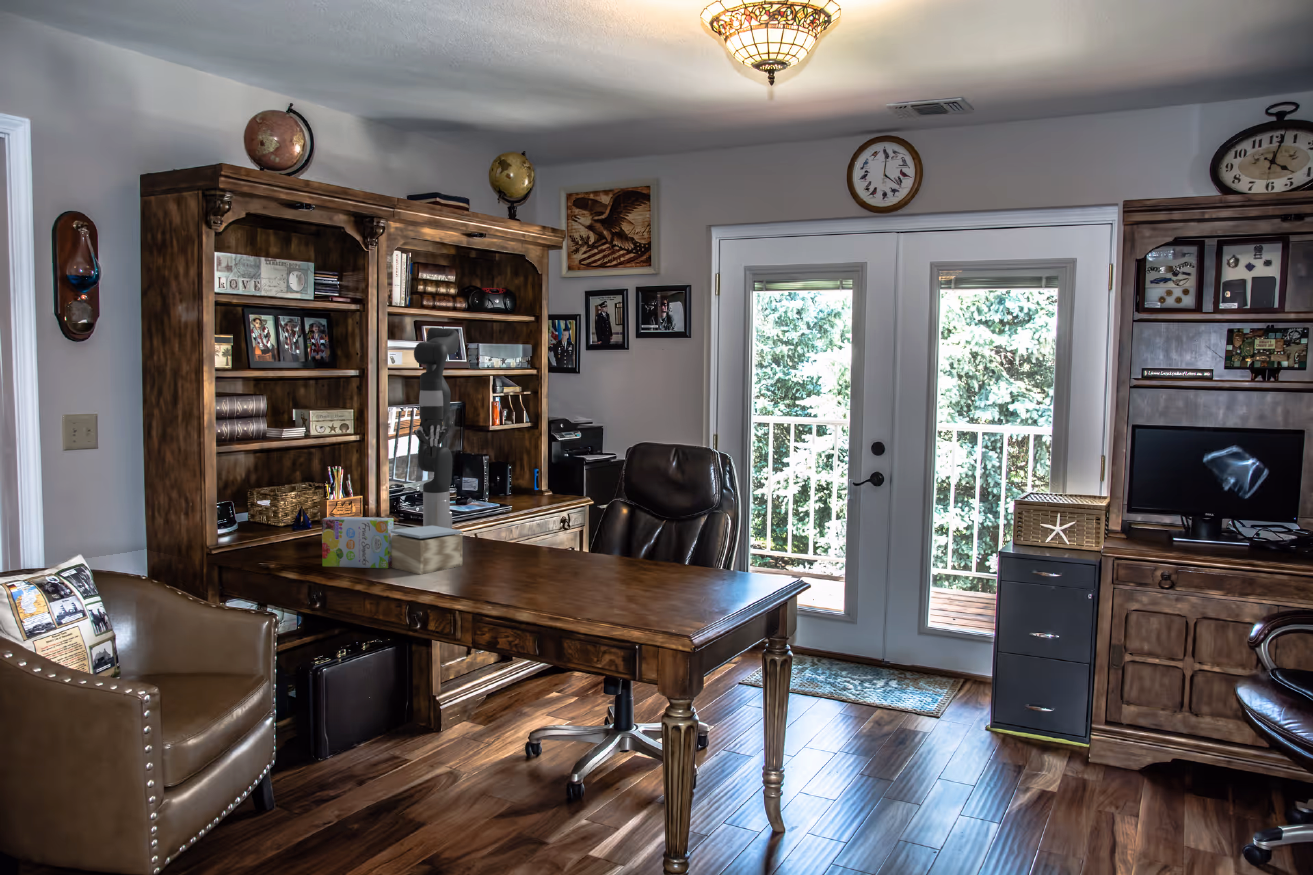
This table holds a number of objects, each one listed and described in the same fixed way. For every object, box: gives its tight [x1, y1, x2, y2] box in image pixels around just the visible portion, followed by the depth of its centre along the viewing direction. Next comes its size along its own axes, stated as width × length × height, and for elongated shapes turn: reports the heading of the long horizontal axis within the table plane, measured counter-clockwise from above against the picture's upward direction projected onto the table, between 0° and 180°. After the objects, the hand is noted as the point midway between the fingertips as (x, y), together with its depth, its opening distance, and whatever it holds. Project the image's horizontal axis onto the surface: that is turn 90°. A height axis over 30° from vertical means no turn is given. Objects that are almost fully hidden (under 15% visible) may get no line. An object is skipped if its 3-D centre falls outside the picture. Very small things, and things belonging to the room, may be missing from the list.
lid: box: [391, 525, 464, 538], centre depth 288 cm, size 17×14×1 cm
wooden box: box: [391, 534, 464, 575], centre depth 289 cm, size 16×14×10 cm
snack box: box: [321, 516, 395, 569], centre depth 289 cm, size 21×6×15 cm, turn 84°
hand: (431, 457), depth 305 cm, fingers closed
